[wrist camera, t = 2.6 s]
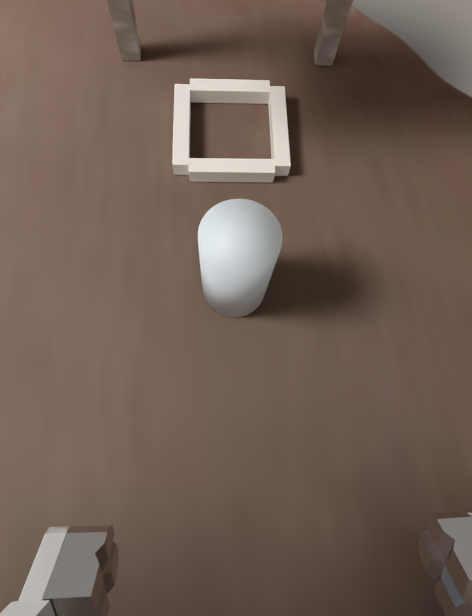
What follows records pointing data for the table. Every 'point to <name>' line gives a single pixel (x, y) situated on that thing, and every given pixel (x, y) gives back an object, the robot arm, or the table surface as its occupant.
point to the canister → (237, 255)
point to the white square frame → (230, 167)
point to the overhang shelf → (323, 52)
